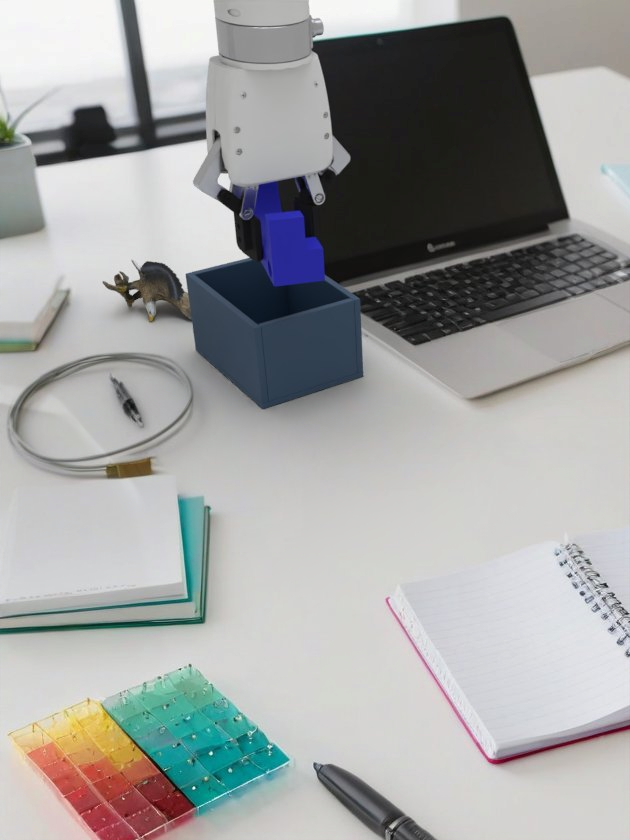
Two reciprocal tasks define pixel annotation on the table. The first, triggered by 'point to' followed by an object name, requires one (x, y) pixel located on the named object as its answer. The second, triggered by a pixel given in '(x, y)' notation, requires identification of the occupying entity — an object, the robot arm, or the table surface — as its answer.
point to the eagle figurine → (152, 288)
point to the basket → (275, 331)
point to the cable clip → (286, 242)
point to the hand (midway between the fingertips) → (280, 247)
